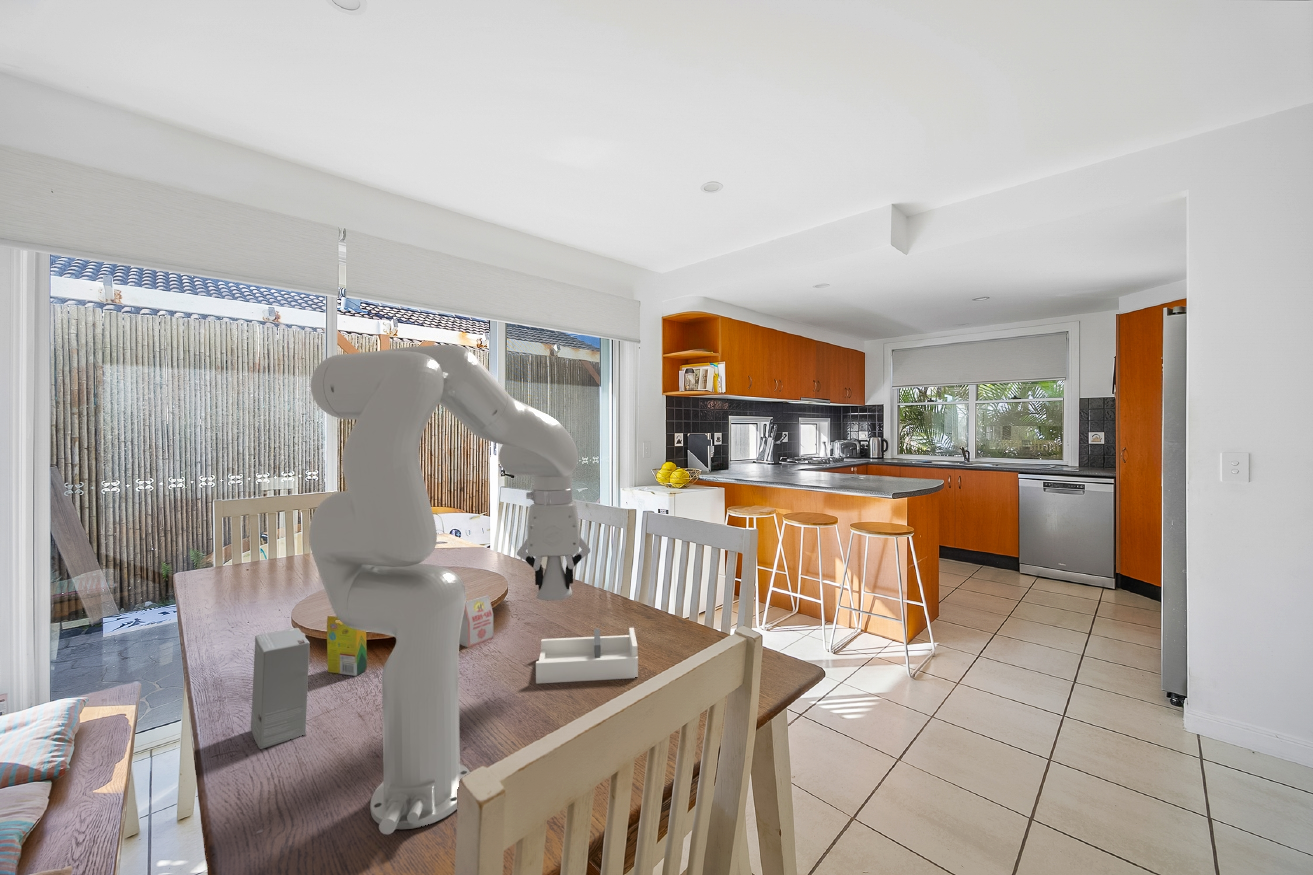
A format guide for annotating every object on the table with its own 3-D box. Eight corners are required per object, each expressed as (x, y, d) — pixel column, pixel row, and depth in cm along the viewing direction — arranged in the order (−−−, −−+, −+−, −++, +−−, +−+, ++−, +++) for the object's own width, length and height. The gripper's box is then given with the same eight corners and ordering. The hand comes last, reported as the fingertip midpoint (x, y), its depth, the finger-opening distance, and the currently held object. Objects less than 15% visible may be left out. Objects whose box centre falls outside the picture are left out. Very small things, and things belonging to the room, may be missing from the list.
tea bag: (458, 643, 125) (458, 600, 125) (484, 634, 131) (483, 593, 130) (468, 647, 123) (467, 604, 123) (493, 638, 128) (493, 596, 128)
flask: (565, 603, 105) (564, 552, 104) (530, 601, 106) (529, 550, 106) (577, 591, 112) (577, 543, 111) (544, 589, 113) (544, 542, 113)
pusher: (600, 669, 109) (600, 644, 109) (594, 669, 109) (594, 645, 109) (599, 651, 118) (599, 628, 118) (594, 651, 118) (594, 629, 117)
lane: (637, 677, 108) (637, 648, 108) (535, 683, 106) (535, 653, 106) (633, 652, 120) (633, 625, 120) (541, 657, 118) (541, 629, 118)
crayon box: (367, 670, 112) (366, 614, 111) (356, 676, 109) (355, 619, 109) (338, 666, 114) (338, 611, 113) (326, 672, 111) (325, 615, 111)
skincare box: (249, 730, 90) (248, 635, 89) (300, 714, 95) (298, 624, 94) (259, 752, 84) (257, 651, 83) (312, 733, 89) (311, 638, 88)
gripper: (506, 501, 103) (508, 595, 104) (596, 499, 105) (597, 591, 106) (512, 495, 111) (513, 583, 112) (595, 493, 113) (596, 580, 114)
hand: (554, 586), depth 109 cm, fingers closed on flask, 4 cm apart
